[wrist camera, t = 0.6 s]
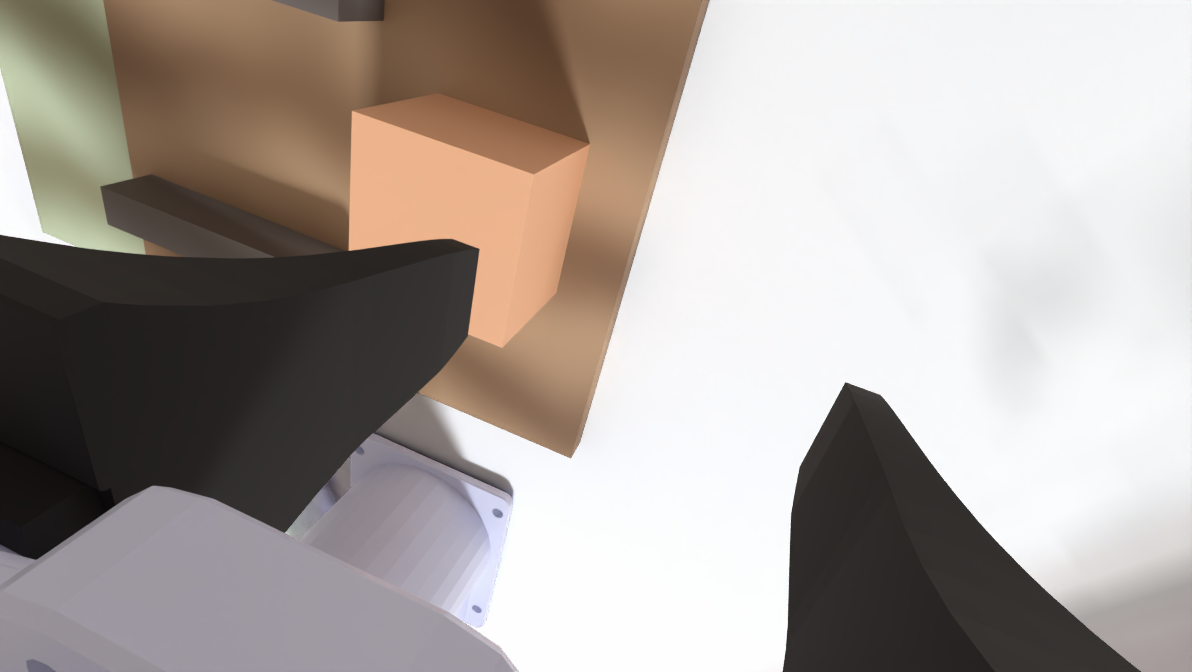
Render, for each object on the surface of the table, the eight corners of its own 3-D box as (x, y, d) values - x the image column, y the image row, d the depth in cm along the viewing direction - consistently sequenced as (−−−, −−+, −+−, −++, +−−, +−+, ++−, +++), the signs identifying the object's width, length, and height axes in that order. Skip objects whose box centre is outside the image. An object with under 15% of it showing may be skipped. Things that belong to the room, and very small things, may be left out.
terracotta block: (556, 292, 20) (501, 347, 17) (424, 242, 21) (347, 285, 18) (590, 143, 18) (534, 174, 14) (438, 93, 19) (351, 110, 15)
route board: (579, 442, 24) (550, 492, 22) (65, 225, 29) (-8, 246, 26) (739, -102, 15) (720, -126, 12) (-60, -304, 19) (-193, -352, 17)
